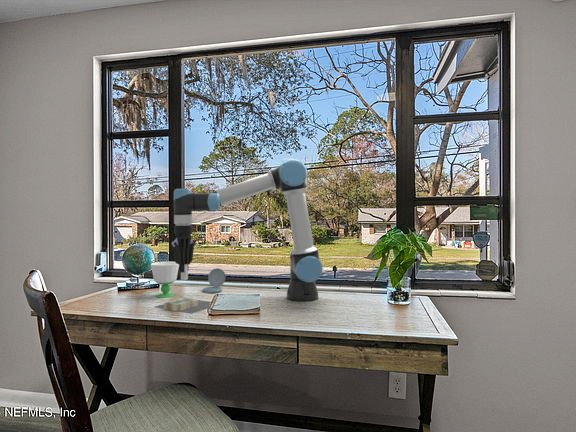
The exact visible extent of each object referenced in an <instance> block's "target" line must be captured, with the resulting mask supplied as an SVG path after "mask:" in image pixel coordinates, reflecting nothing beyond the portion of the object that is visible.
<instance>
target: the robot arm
mask: <svg viewBox="0 0 576 432" xmlns="http://www.w3.org/2000/svg"><path fill="white" fill-rule="evenodd" d="M307 176H308V171H307V167H306V165H305V164H304V163H303V162H302V161H300V160H299V159H295V158H293V159H286V160H285V161H283V162H282V163H281V164H279V166H276V167H274V168H272V169H270V170H268V172H267V173H264V174H262V175H258V176H255V177H253V178H249V179H246V180H244V181H241V182H238V183H235V184H231V185H229V186H226V187H223V188H219V189H217V190H213V191H211V192H204V193H203V192H201V193H200V192H198V193H197V192H196V193H195V192H192V189H191V188H175V189H174V191H173V224H175V225H174V226H173V227H174V229H173V230H174V231H173V233H174V235H175V237H174V241H171V242H170V245H171V247H172V251H173V255H174V256H173V257H174V262H176V264H179V272H180V281H181V280H182V281H187V280H189V271H190V270H189V265H191V263H192V262H193V257H194V251H195V245H196V242H197V240H196V239H193V237H192V234H193V225H192V224H193V211H204V212H206V211H210V212H213V211H219V210H220V209H221V206H225V205H228V204H231V203H235V202H237V201H241V200H243V199H246V198H249V197H252V196H255V195H259V194H261V193H264V192H267V191H270V190H274V191H277V190H281V193H282V194H283V195H284V196H285V198H286V204H287V205H286V206H287V212H288V216H289V224H290V229H291V235H292V241H293V247H294V248H293V249H292V250H291V251H290V255H289V259H290V265H289V266H290V267H289V270H290V274H289V277H290V280H289V284H288V288H287V291H286V298H287V299H288V300H291V301H298V302H310V301H315V300H318V299H319V290H318V289H317V287H318V286H317V285H316V281H317V280H319V278H320V277H321V275H322V274H323V270H324V269H323V268H324V267H323V264H322V261H321V259H320V254H319V250H318V248H317V247H316V246H315V245H314V240H313V234H312V233H313V232H312V228H311V227H312V226H311V221H310V215H309V210H308V209H309V208H308V202H307V197H306V191H307V190H308V187H309V186H308V181H307Z"/></svg>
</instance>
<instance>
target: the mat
mask: <svg viewBox="0 0 576 432" xmlns="http://www.w3.org/2000/svg"><path fill="white" fill-rule="evenodd" d="M197 300H198V306H195V307H192V308H188V309H185V310H182V311H178V312H179V313H186V314H192V315H193V314H195V313H198V312H201V311H204V310H208V309H210V308H209V305H210V303H211V302H212V301H207V300H201V299H197ZM154 308H156V309H162V310H163V309H164V303H163V304H159V305H156V306H154ZM164 310H165V309H164Z"/></svg>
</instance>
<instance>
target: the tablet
mask: <svg viewBox="0 0 576 432" xmlns="http://www.w3.org/2000/svg"><path fill="white" fill-rule="evenodd" d="M198 300H199V299H197V298H190V297H181V298H178V299H174V300H169V301H167V302H164V303H163V304H164V310H167V311H172V312H179V311H182V310H185V309H188V308H192V307H195V306H198Z"/></svg>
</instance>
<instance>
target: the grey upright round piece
mask: <svg viewBox="0 0 576 432" xmlns="http://www.w3.org/2000/svg"><path fill="white" fill-rule="evenodd" d="M207 280H208V283H209V285H210V286H206V287H203V288H202V292H203V293H205V294H219V293H221V292H222V291H223V288H222V287H221V286H223V285H224V283H225V281H226V273H225V272H224V270H223V269H221V268H219V267H218V268H217V267H216V268H213V269H212V270H211V271H210V272H209V274H208V276H207Z"/></svg>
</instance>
